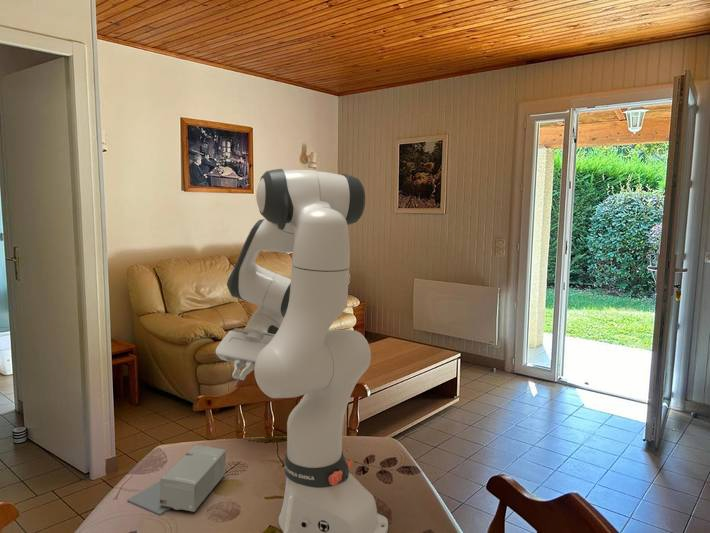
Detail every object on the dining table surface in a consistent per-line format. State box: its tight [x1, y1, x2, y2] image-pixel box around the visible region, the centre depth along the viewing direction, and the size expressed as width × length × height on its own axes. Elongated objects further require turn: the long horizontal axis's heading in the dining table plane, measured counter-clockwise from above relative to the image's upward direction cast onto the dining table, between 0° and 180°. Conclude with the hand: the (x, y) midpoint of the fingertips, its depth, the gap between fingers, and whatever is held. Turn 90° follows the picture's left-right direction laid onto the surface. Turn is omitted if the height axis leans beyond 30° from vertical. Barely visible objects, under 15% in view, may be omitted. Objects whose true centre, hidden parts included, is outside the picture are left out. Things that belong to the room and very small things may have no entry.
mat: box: [126, 480, 173, 516], centre depth 117 cm, size 10×15×1 cm, turn 151°
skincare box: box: [159, 445, 227, 513], centre depth 117 cm, size 8×7×16 cm
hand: (237, 378), depth 133 cm, fingers closed
